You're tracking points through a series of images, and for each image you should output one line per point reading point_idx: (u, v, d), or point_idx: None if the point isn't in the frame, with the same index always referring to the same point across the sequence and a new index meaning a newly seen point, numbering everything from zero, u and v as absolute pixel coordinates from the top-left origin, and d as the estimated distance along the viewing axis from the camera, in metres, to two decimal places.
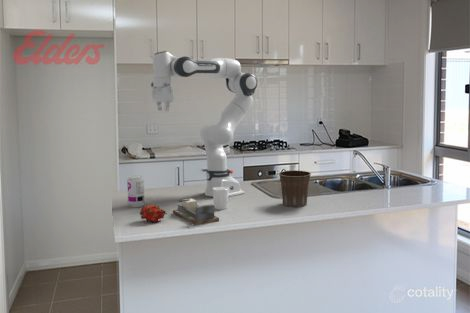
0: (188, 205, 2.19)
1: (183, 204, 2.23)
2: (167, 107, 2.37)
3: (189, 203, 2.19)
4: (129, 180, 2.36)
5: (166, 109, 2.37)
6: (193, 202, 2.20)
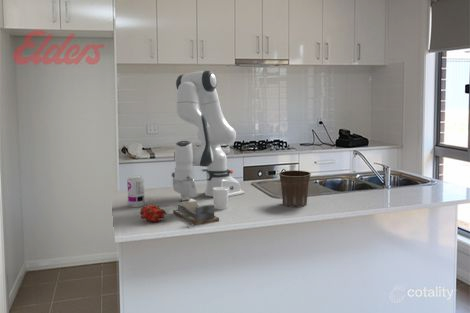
0: (188, 205, 2.19)
1: (183, 204, 2.23)
2: None
3: (189, 203, 2.19)
4: (129, 180, 2.36)
5: None
6: (193, 202, 2.20)
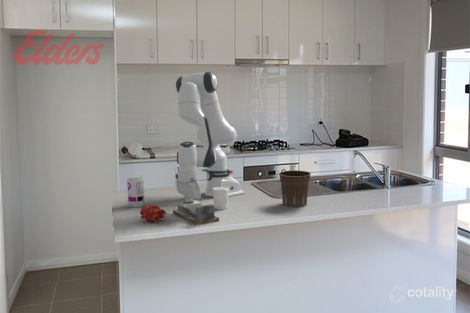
0: (192, 207, 2.15)
1: (187, 206, 2.19)
2: None
3: (193, 205, 2.15)
4: (129, 180, 2.36)
5: None
6: (197, 204, 2.16)
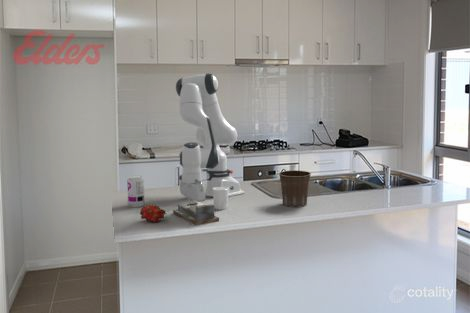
0: None
1: (191, 208, 2.15)
2: None
3: None
4: (129, 180, 2.36)
5: None
6: None
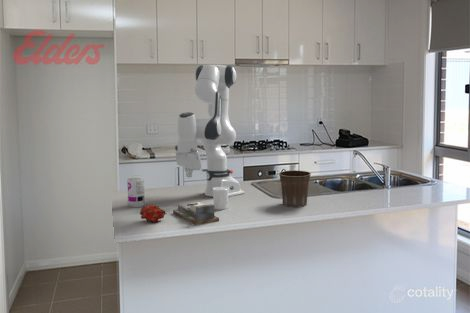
0: None
1: (191, 208, 2.15)
2: (190, 173, 2.19)
3: None
4: (129, 180, 2.36)
5: (189, 175, 2.19)
6: None
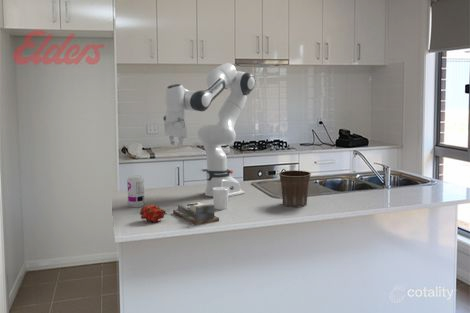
0: None
1: (191, 208, 2.15)
2: (180, 142, 2.28)
3: None
4: (129, 180, 2.36)
5: (179, 145, 2.28)
6: None
